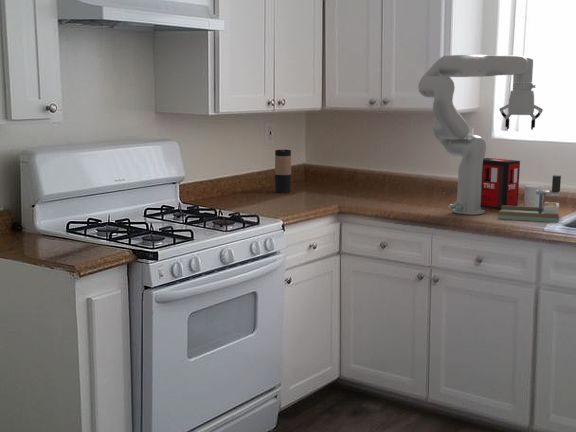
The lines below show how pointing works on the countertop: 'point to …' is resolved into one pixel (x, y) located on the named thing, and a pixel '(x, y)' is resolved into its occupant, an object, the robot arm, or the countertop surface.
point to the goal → (551, 208)
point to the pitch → (526, 214)
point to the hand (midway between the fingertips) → (519, 129)
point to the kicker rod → (554, 192)
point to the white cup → (532, 195)
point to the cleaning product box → (500, 183)
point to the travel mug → (282, 171)
